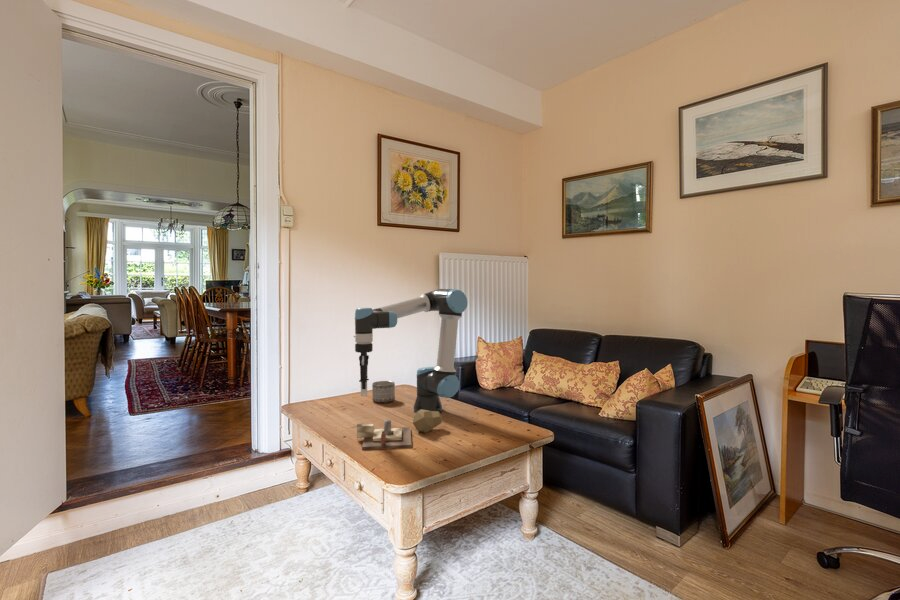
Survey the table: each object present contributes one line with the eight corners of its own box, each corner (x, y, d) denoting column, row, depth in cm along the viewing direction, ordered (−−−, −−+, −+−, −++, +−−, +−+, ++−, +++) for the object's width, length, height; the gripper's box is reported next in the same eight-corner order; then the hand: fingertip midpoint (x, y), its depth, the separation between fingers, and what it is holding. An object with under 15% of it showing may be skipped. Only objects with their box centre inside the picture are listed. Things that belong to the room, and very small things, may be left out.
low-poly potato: (410, 436, 193) (431, 427, 189) (404, 412, 198) (424, 403, 194) (428, 436, 206) (448, 427, 201) (422, 413, 210) (442, 404, 206)
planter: (373, 398, 256) (373, 381, 255) (394, 397, 257) (394, 380, 257) (371, 404, 243) (371, 386, 243) (394, 403, 244) (394, 385, 244)
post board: (410, 429, 201) (410, 412, 201) (411, 447, 179) (411, 428, 179) (366, 431, 199) (366, 414, 198) (362, 449, 177) (361, 430, 177)
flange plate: (401, 430, 196) (401, 418, 195) (401, 440, 184) (401, 427, 183) (358, 432, 193) (358, 420, 193) (355, 442, 181) (355, 429, 181)
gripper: (356, 340, 199) (356, 392, 199) (353, 344, 186) (353, 399, 187) (373, 340, 200) (373, 392, 200) (371, 344, 187) (371, 399, 187)
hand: (364, 395), depth 193 cm, fingers closed
